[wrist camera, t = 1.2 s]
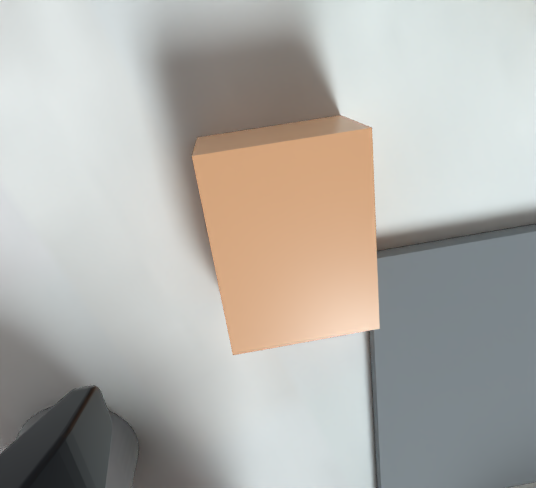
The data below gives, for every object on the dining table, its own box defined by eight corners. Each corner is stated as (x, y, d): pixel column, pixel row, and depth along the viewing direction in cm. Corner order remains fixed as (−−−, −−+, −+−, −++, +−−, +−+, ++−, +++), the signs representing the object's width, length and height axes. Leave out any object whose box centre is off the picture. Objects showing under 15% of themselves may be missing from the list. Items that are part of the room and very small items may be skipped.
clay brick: (338, 114, 14) (371, 127, 11) (349, 280, 17) (379, 328, 14) (197, 136, 14) (191, 156, 11) (230, 301, 17) (233, 355, 14)
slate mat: (711, 194, 17) (728, 198, 16) (638, 449, 22) (649, 459, 22) (365, 253, 16) (370, 259, 16) (378, 501, 22) (382, 512, 21)
